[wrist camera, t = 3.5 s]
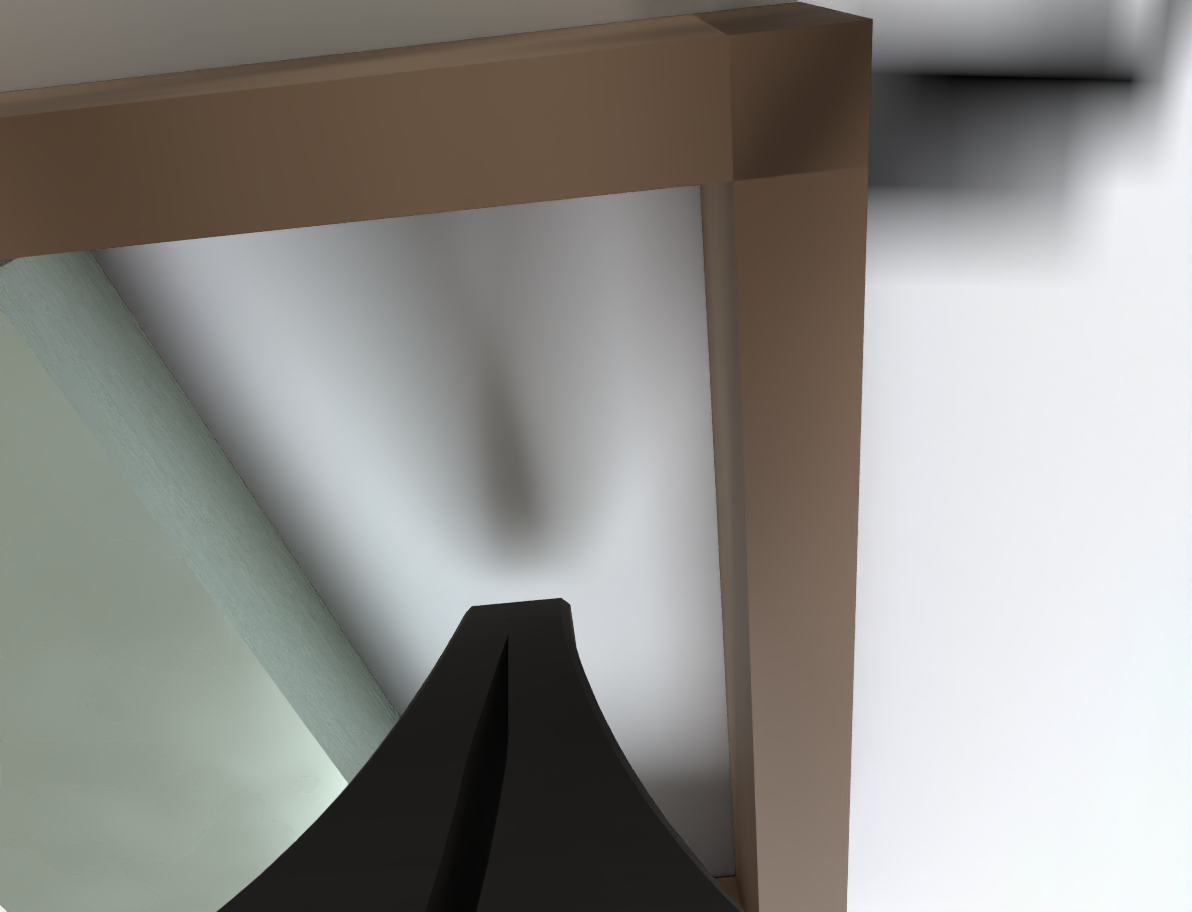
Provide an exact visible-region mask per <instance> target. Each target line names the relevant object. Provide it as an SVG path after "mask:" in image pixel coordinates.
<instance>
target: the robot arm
mask: <svg viewBox="0 0 1192 912" xmlns="http://www.w3.org/2000/svg"><path fill="white" fill-rule="evenodd" d="M216 912H745V911H744V910H743V909H742V908H741V907H740V906H739V905H738V904H737V903H736V902H735V900H734V899H733V898H732V897H731V896H730V895H729V894H728V893H727V892H726V891H725V889H724V888H723V887H722V886H721V885H720V884H719V883H718V882H717V881H716V880H715V878H714V877H713V876H712V875H711V874H710V873H709V872H708V871H707V870H706V868H705V867H704V866H703V865H702V863H701V862H700V861H699V860H698V858H697V857H696V856H695V855H694V853H693V852H692V851H691V850H690V848H689V847H688V846H687V845H686V843H685V842H684V841H683V840H682V838H681V837H680V836H679V835H678V833H677V832H676V831H675V830H674V828H673V827H672V826H671V825H670V823H669V822H668V821H667V819H666V818H665V817H664V815H663V814H662V812H661V811H660V809H659V808H658V807H657V805H656V804H655V802H654V801H653V799H652V798H651V797H650V795H649V794H648V792H647V791H646V789H645V788H644V786H643V784H642V783H641V781H640V780H639V778H638V777H637V775H636V773H635V772H634V770H633V769H632V767H631V765H630V764H629V762H628V760H627V759H626V757H625V755H624V753H623V752H622V750H621V748H620V746H619V745H618V743H617V741H616V739H615V737H614V735H613V733H612V731H611V729H610V727H609V726H608V724H607V722H606V720H605V718H604V716H603V714H602V711H601V709H600V707H599V705H598V703H597V701H596V698H595V696H594V694H593V691H592V689H591V687H590V684H589V682H588V679H587V677H586V675H585V672H584V669H583V667H582V664H581V661H580V658H579V655H578V651H577V648H576V642H575V634H574V627H573V620H572V613H571V606H570V604H569V603H567V602H566V601H565V600H563V599H562V598H555V599H545V600H534V601H523V602H512V603H502V604H491V605H480V606H472V607H471V608H470V609H469V610H468V611H467V612H466V613H465V615H464V617H463V618H462V620H461V622H460V624H459V626H458V627H457V629H456V631H455V633H454V634H453V636H452V638H451V640H450V641H449V643H448V645H447V646H446V648H445V650H444V651H443V653H442V655H441V656H440V658H439V660H438V661H437V663H436V664H435V666H434V668H433V669H432V671H431V673H430V674H429V676H428V677H427V679H426V680H425V682H424V683H423V685H422V686H421V688H420V689H419V691H418V692H417V694H416V695H415V697H414V698H413V700H412V701H411V703H410V704H409V706H408V707H407V709H406V710H405V712H404V713H403V714H402V716H401V717H400V719H399V720H398V721H397V723H396V724H395V725H394V727H393V728H392V729H391V731H390V732H389V733H388V735H387V736H386V737H385V739H384V740H383V741H382V743H381V744H380V745H379V747H378V748H377V749H376V751H375V752H374V753H373V755H372V756H371V757H370V759H369V760H368V761H367V762H366V764H365V765H364V766H363V767H362V769H361V770H360V771H359V772H358V773H357V775H356V776H355V777H354V778H353V779H352V781H351V782H350V783H349V784H348V785H347V786H346V788H345V789H344V790H343V791H342V792H341V793H340V795H339V796H338V797H337V798H336V799H335V800H334V801H333V802H332V803H331V804H330V806H329V807H328V808H327V809H326V810H325V811H324V812H323V813H322V814H321V815H320V817H319V818H318V819H317V820H316V821H315V822H314V823H313V824H312V825H311V826H310V827H309V828H308V829H307V830H306V831H305V832H304V833H303V834H302V835H301V836H300V837H299V838H298V839H297V840H296V841H295V842H294V843H293V844H292V845H291V846H290V847H289V848H288V849H287V850H285V851H284V852H283V853H282V854H281V855H280V856H279V857H278V858H277V859H276V860H275V861H274V862H273V863H272V864H271V865H270V866H269V867H268V868H267V869H266V870H264V871H263V872H262V873H261V874H260V875H259V876H258V877H257V878H256V879H254V880H253V881H252V882H251V883H250V884H249V885H248V886H246V887H245V888H244V889H243V890H242V891H240V892H239V893H238V894H237V895H236V896H235V897H233V898H232V899H231V900H230V901H229V902H228V903H226V904H225V905H224V906H223V907H221V908H220V909H219V910H218V911H216Z"/></svg>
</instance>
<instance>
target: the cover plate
mask: <svg viewBox="0 0 1192 912" xmlns="http://www.w3.org/2000/svg"><path fill="white" fill-rule="evenodd" d="M399 719H400V717H399V715H398V714H397V712H396V711H395V709H394V708H393V706H392V705H391V703H390V702H389V700H388V699H387V697H386V696H385V694H384V693H383V691H382V690H381V688H380V687H379V685H378V684H377V682H376V681H375V679H374V678H373V676H372V675H371V673H370V672H369V670H368V669H367V667H366V666H365V664H364V663H363V661H362V660H361V658H360V657H359V655H358V654H357V652H356V651H355V649H354V648H353V646H352V645H351V643H350V642H349V640H348V639H347V637H346V636H345V634H344V633H343V631H342V629H341V628H340V626H339V625H338V623H337V622H336V620H335V619H334V617H333V616H332V614H331V613H330V611H329V610H328V608H327V607H326V605H325V604H324V602H323V601H322V599H321V598H320V596H319V595H318V593H317V592H316V590H315V589H314V587H313V586H312V584H311V583H310V581H309V580H308V578H307V577H306V575H305V574H304V572H303V571H302V569H301V568H300V566H299V565H298V563H297V562H296V560H295V559H294V557H293V556H292V554H291V553H290V551H289V550H288V548H287V547H286V545H285V544H284V542H283V541H282V539H281V538H280V536H279V535H278V533H277V532H276V530H275V529H274V527H273V526H272V524H271V523H270V521H269V520H268V518H267V517H266V515H265V514H264V512H263V511H262V509H261V508H260V506H259V505H258V503H257V501H256V500H255V498H254V497H253V495H252V494H251V492H250V491H249V489H248V488H247V486H246V485H245V483H244V482H243V480H242V479H241V477H240V476H239V474H238V473H237V471H236V470H235V468H234V467H233V465H232V464H231V462H230V461H229V459H228V458H227V456H226V455H225V453H224V452H223V450H222V449H221V447H220V446H219V444H218V443H217V441H216V440H215V438H214V437H213V435H212V434H211V432H210V431H209V429H208V428H207V426H206V425H205V423H204V422H203V420H202V419H201V417H200V416H199V414H198V413H197V411H196V410H195V408H194V407H193V405H192V404H191V402H190V401H189V399H188V398H187V396H186V395H185V393H184V392H183V390H182V389H181V387H180V386H179V384H178V383H177V381H176V380H175V378H174V377H173V375H172V373H171V372H170V370H169V369H168V367H167V366H166V364H165V363H164V361H163V360H162V358H161V357H160V355H159V354H158V352H157V351H156V349H155V348H154V346H153V345H152V343H151V342H150V340H149V339H148V337H147V336H146V334H145V333H144V331H143V330H142V328H141V327H140V325H139V324H138V322H137V321H136V319H135V318H134V316H133V315H132V313H131V312H130V310H129V309H128V307H127V306H126V304H125V303H124V301H123V300H122V298H121V297H120V295H119V294H118V292H117V291H116V289H115V288H114V286H113V285H112V283H111V282H110V280H109V279H108V277H107V276H106V274H105V273H104V271H103V270H102V268H101V267H100V265H99V264H98V262H97V261H96V259H95V258H94V256H93V255H92V253H91V252H90V250H86V251H77V252H67V253H58V254H49V255H39V256H30V257H21V258H12V259H2V260H0V905H1V906H2V907H3V908H4V909H5V910H6V911H7V912H216V911H218V910H219V909H220V908H221V907H223V906H224V905H225V904H226V903H228V902H229V901H230V900H231V899H232V898H233V897H235V896H236V895H237V894H238V893H239V892H240V891H242V890H243V889H244V888H245V887H246V886H248V885H249V884H250V883H251V882H252V881H253V880H254V879H256V878H257V877H258V876H259V875H260V874H261V873H262V872H263V871H264V870H266V869H267V868H268V867H269V866H270V865H271V864H272V863H273V862H274V861H275V860H276V859H277V858H278V857H279V856H280V855H281V854H282V853H283V852H284V851H285V850H287V849H288V848H289V847H290V846H291V845H292V844H293V843H294V842H295V841H296V840H297V839H298V838H299V837H300V836H301V835H302V834H303V833H304V832H305V831H306V830H307V829H308V828H309V827H310V826H311V825H312V824H313V823H314V822H315V821H316V820H317V819H318V818H319V817H320V815H321V814H322V813H323V812H324V811H325V810H326V809H327V808H328V807H329V806H330V804H331V803H332V802H333V801H334V800H335V799H336V798H337V797H338V796H339V795H340V793H341V792H342V791H343V790H344V789H345V788H346V786H347V785H348V784H349V783H350V782H351V781H352V779H353V778H354V777H355V776H356V775H357V773H358V772H359V771H360V770H361V769H362V767H363V766H364V765H365V764H366V762H367V761H368V760H369V759H370V757H371V756H372V755H373V753H374V752H375V751H376V749H377V748H378V747H379V745H380V744H381V743H382V741H383V740H384V739H385V737H386V736H387V735H388V733H389V732H390V731H391V729H392V728H393V727H394V725H395V724H396V723H397V721H398V720H399Z"/></svg>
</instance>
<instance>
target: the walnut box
mask: <svg viewBox="0 0 1192 912" xmlns="http://www.w3.org/2000/svg"><path fill="white" fill-rule="evenodd" d="M872 27H873V19H870V18H866V17H862V16H857V15H853V14H849V13H845V12H840V11H836V10H832V9H828V8H824V7H819V6H815V5H811V4H807V3H803V2H794V3H785V4H776V5H767V6H759V7H750V8H741V9H732V10H723V11H715V12H706V13H697V14H688V15H679V16H671V17H662V18H653V19H644V20H635V21H627V22H618V23H609V24H600V25H592V26H583V27H574V28H565V29H556V30H548V31H539V32H530V33H521V34H512V35H504V36H495V37H486V38H477V39H468V40H460V41H451V42H442V43H433V44H424V45H416V46H407V47H398V48H389V49H380V50H372V51H363V52H354V53H345V54H336V55H328V56H319V57H310V58H301V59H292V60H284V61H275V62H266V63H257V64H248V65H240V66H231V67H222V68H213V69H204V70H196V71H187V72H178V73H169V74H160V75H152V76H143V77H134V78H125V79H117V80H108V81H99V82H90V83H81V84H73V85H64V86H55V87H46V88H37V89H29V90H20V91H11V92H2V93H0V260H2V259H12V258H21V257H30V256H39V255H49V254H58V253H67V252H77V251H86V250H95V249H105V248H114V247H123V246H133V245H142V244H151V243H161V242H170V241H179V240H189V239H198V238H207V237H216V236H226V235H235V234H244V233H254V232H263V231H272V230H282V229H291V228H300V227H310V226H319V225H328V224H338V223H347V222H356V221H365V220H375V219H384V218H393V217H403V216H412V215H421V214H431V213H440V212H449V211H459V210H468V209H477V208H487V207H496V206H505V205H515V204H524V203H533V202H542V201H552V200H561V199H570V198H580V197H589V196H598V195H608V194H617V193H626V192H636V191H645V190H654V189H664V188H673V187H682V186H691V185H700V190H701V209H702V229H703V249H704V268H705V288H706V307H707V327H708V346H709V366H710V385H711V405H712V424H713V444H714V463H715V483H716V502H717V522H718V541H719V561H720V580H721V600H722V619H723V639H724V658H725V678H726V697H727V717H728V736H729V756H730V775H731V795H732V814H733V834H734V853H735V873H736V876H733V877H721V878H715V880H716V881H717V882H718V883H719V884H720V885H721V886H722V887H723V888H724V889H725V891H726V892H727V893H728V894H729V895H730V896H731V897H732V898H733V899H734V900H735V902H736V903H737V904H738V905H739V906H740V907H741V908H742V909H743V910H744V911H745V912H847V879H848V845H849V811H850V777H851V743H852V709H853V675H854V640H855V606H856V572H857V538H858V504H859V470H860V436H861V402H862V368H863V334H864V299H865V265H866V231H867V197H868V163H869V129H870V95H871V61H872Z"/></svg>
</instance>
